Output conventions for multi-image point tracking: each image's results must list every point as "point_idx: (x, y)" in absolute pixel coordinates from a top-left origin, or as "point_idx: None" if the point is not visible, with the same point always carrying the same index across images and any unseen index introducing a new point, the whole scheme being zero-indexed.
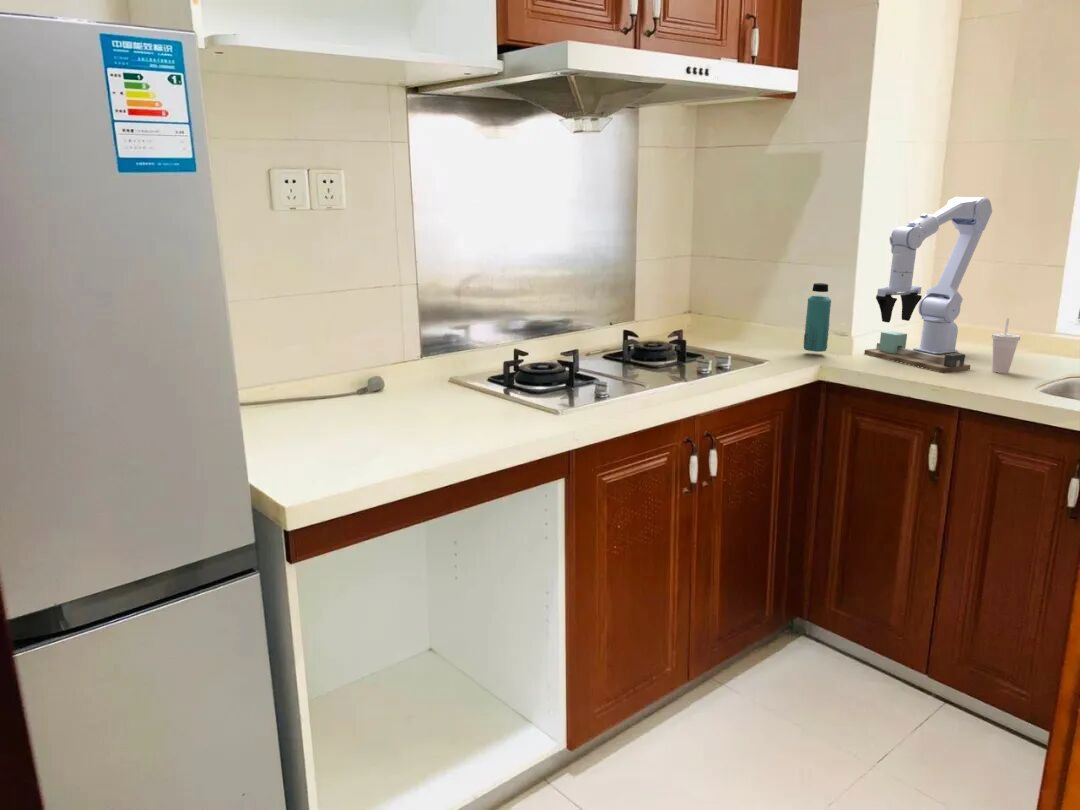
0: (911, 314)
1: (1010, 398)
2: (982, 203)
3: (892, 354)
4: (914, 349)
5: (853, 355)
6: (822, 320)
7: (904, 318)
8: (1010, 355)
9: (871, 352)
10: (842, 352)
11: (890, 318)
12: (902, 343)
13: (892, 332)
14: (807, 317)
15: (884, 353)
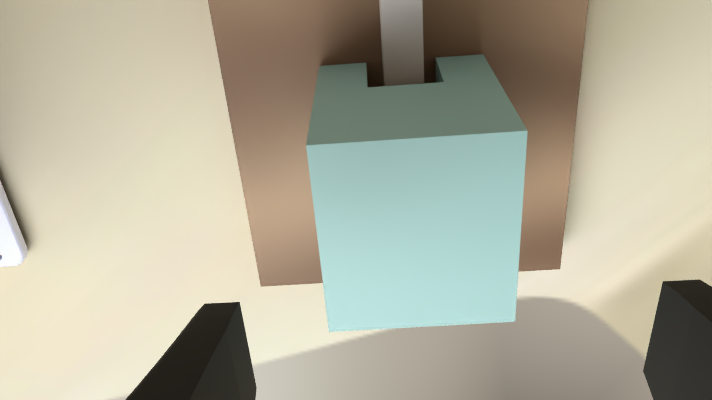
0: (166, 363)
1: None
2: None
3: (508, 38)
4: (23, 239)
5: (675, 237)
6: None
7: (246, 373)
8: None
9: (563, 201)
10: (646, 335)
11: (707, 312)
12: (371, 96)
13: (405, 272)
14: None
15: (539, 101)
